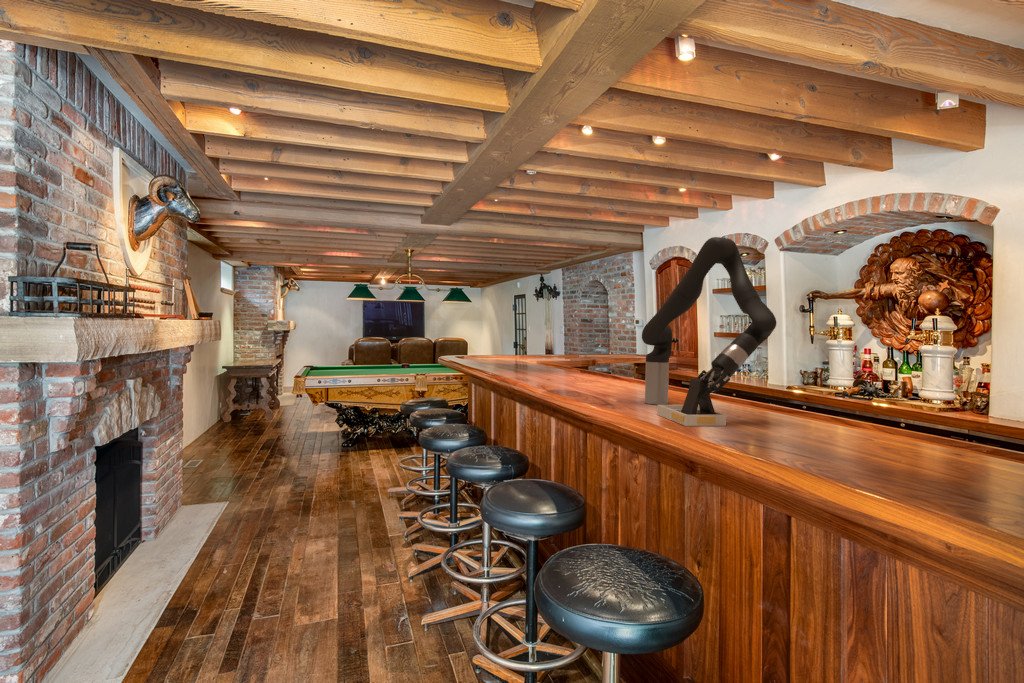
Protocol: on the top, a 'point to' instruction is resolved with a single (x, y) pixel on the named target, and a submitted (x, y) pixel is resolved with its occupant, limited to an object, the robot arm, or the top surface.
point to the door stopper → (697, 399)
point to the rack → (690, 416)
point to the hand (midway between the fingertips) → (695, 396)
